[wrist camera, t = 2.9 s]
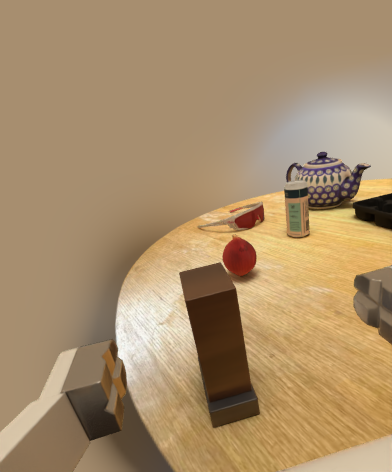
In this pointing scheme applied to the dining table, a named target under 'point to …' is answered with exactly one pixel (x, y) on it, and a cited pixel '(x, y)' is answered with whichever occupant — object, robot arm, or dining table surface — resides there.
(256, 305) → the dining table surface
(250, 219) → the sunglasses
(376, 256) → the dining table surface
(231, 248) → the onion
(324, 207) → the teapot
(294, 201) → the beer can
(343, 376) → the dining table surface
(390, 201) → the black muffin tray
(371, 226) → the dining table surface
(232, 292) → the brown rectangular block
